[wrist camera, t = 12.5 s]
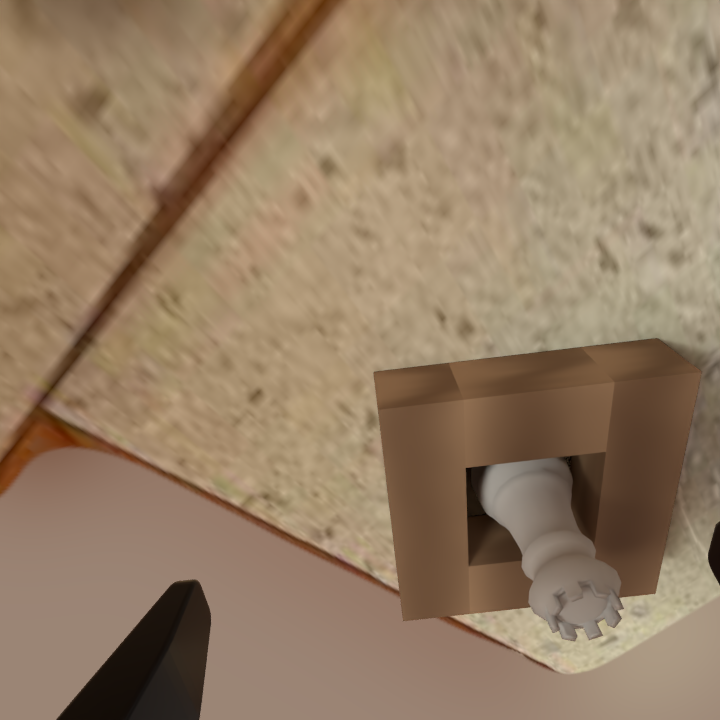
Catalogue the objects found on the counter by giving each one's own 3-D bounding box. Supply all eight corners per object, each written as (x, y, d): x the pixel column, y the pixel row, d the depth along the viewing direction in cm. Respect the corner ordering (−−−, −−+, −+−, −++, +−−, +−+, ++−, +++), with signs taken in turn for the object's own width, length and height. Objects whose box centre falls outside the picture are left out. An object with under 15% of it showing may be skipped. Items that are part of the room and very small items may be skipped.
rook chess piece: (459, 441, 24) (510, 587, 17) (556, 417, 23) (651, 556, 16) (477, 512, 26) (528, 669, 19) (566, 490, 25) (654, 644, 18)
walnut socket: (657, 338, 22) (701, 371, 19) (624, 544, 27) (655, 593, 24) (373, 372, 22) (378, 409, 19) (396, 570, 27) (403, 621, 25)
